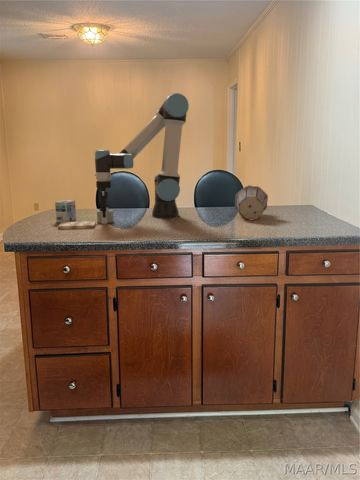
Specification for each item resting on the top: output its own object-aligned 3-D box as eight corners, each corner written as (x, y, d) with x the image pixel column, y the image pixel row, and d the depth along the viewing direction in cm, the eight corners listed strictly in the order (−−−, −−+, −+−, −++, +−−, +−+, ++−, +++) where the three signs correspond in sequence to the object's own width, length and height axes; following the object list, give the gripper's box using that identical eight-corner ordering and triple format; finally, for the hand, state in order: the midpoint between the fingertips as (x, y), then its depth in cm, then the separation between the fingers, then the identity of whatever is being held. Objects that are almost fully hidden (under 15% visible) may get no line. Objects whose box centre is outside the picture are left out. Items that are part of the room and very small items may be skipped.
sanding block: (113, 220, 221) (112, 209, 219) (113, 222, 216) (112, 211, 215) (98, 221, 220) (97, 210, 219) (97, 223, 215) (96, 211, 214)
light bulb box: (67, 222, 216) (66, 202, 213) (55, 222, 217) (54, 202, 214) (76, 219, 226) (75, 199, 223) (65, 219, 227) (64, 199, 225)
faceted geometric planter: (269, 193, 211) (265, 175, 237) (234, 195, 213) (234, 177, 240) (269, 225, 218) (265, 204, 245) (235, 226, 221) (235, 205, 248)
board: (95, 224, 211) (95, 221, 211) (94, 228, 200) (93, 225, 200) (61, 225, 209) (61, 222, 209) (58, 229, 198) (58, 226, 198)
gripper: (97, 178, 225) (99, 217, 229) (94, 182, 201) (96, 225, 206) (111, 178, 225) (113, 217, 230) (109, 182, 202) (111, 225, 206)
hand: (105, 221), depth 218 cm, fingers open, 12 cm apart
